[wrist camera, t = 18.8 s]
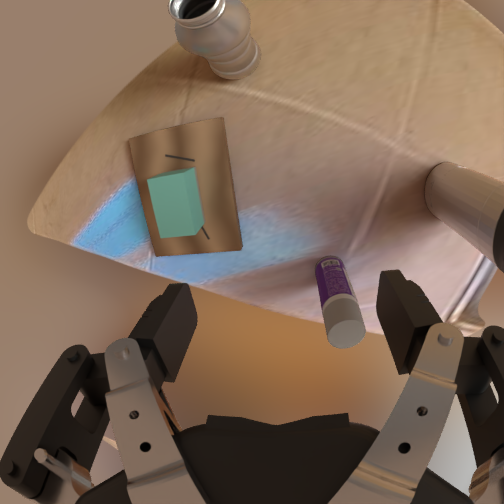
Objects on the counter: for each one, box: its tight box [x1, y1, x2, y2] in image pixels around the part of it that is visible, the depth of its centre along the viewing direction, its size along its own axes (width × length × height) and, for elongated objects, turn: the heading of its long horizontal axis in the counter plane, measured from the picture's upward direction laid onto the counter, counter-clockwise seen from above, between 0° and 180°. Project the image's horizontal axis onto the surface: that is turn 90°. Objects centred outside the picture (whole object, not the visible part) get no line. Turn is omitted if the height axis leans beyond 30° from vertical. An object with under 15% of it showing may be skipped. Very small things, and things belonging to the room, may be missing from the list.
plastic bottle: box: [168, 0, 261, 79], centre depth 21 cm, size 6×7×20 cm
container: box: [315, 256, 366, 348], centre depth 35 cm, size 5×5×15 cm
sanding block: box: [147, 167, 206, 238], centre depth 35 cm, size 5×8×5 cm, turn 7°
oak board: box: [129, 117, 243, 257], centre depth 38 cm, size 14×19×2 cm
